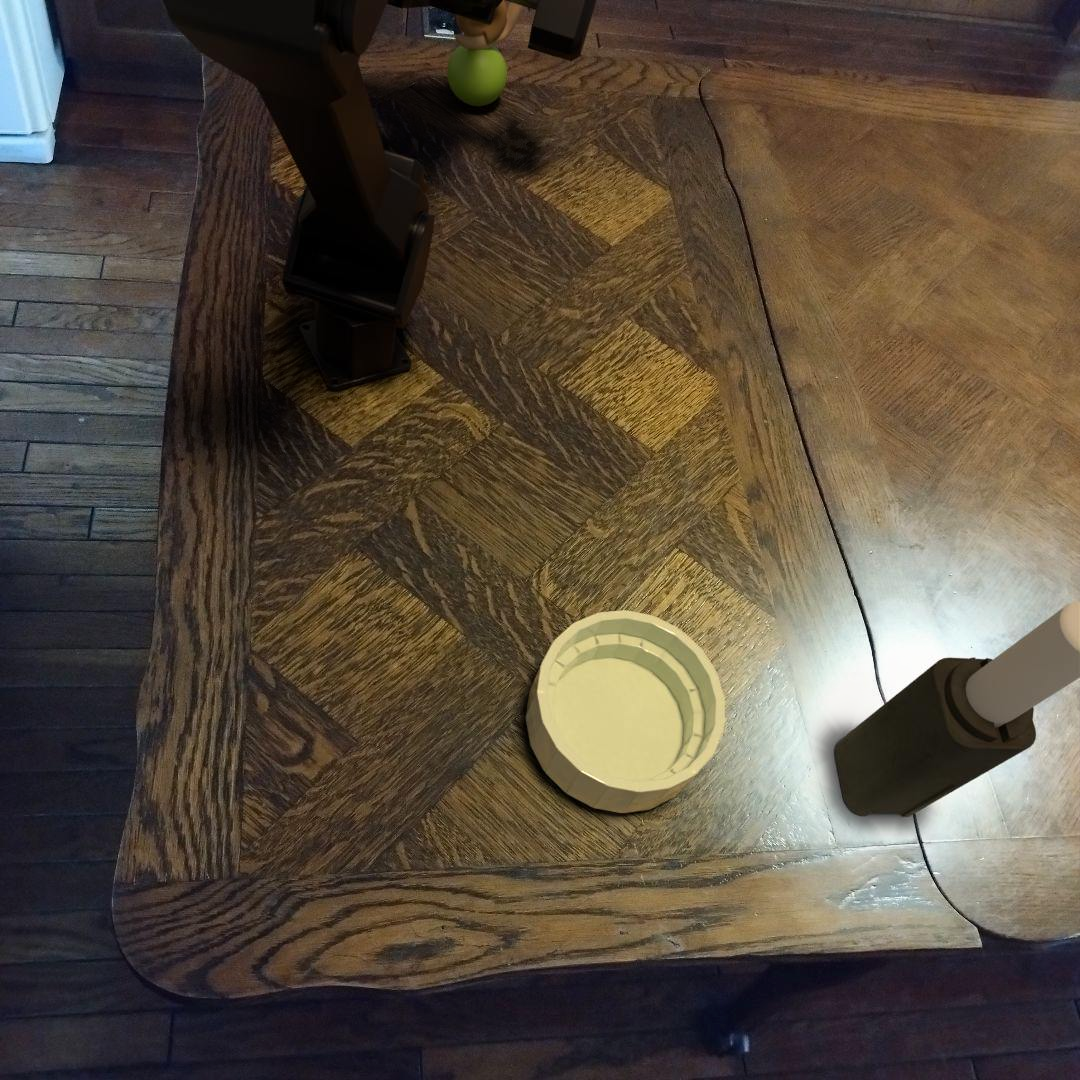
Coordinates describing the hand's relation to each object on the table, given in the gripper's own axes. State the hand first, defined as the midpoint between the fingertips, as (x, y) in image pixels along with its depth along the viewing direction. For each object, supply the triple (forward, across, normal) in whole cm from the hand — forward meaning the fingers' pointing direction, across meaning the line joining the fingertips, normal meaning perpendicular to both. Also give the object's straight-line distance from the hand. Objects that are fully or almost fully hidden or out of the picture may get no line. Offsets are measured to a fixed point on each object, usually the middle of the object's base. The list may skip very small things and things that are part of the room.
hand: (485, 15), depth 83 cm
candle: (-31, -42, +43) cm, 68 cm away
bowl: (-32, -25, +45) cm, 60 cm away
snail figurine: (+8, 0, +5) cm, 10 cm away
